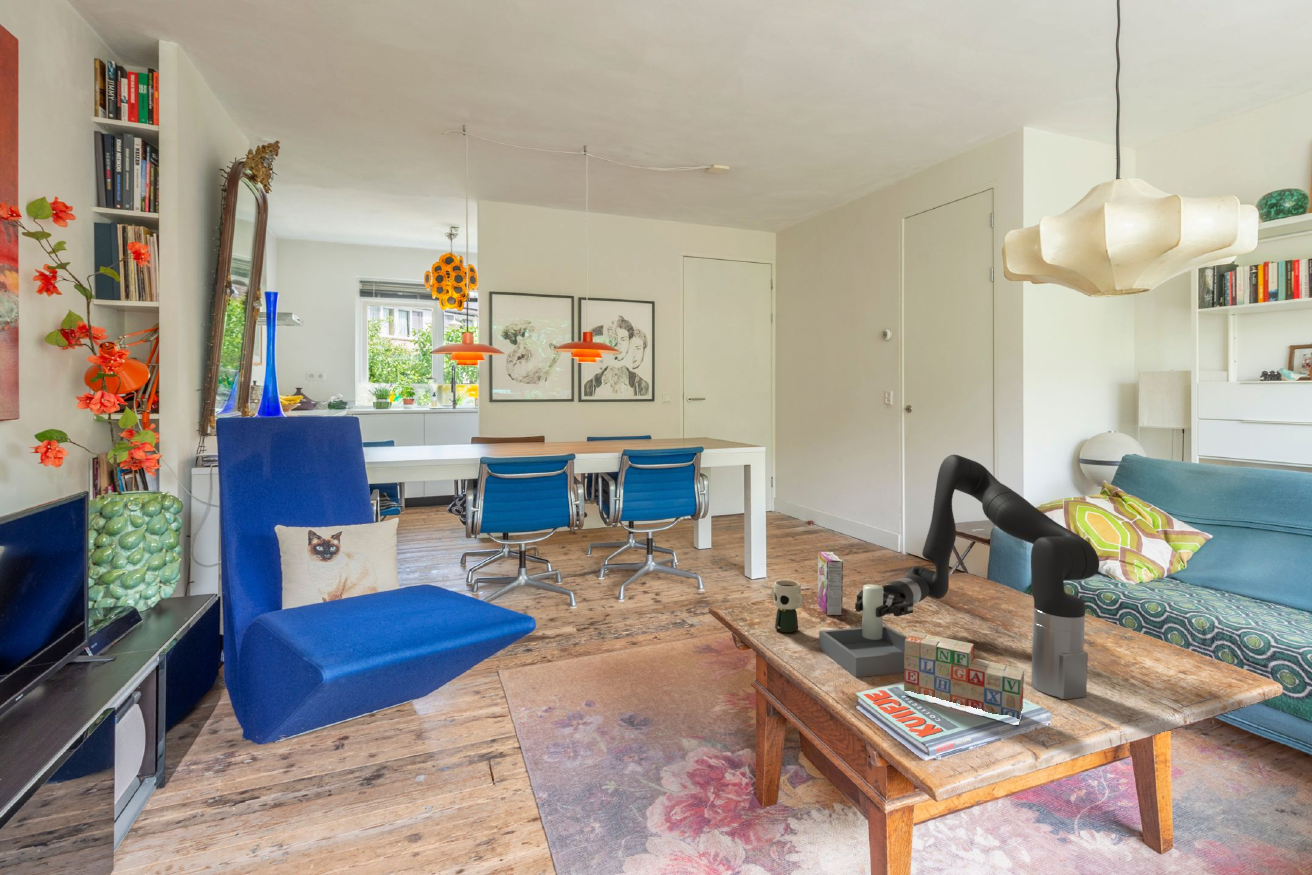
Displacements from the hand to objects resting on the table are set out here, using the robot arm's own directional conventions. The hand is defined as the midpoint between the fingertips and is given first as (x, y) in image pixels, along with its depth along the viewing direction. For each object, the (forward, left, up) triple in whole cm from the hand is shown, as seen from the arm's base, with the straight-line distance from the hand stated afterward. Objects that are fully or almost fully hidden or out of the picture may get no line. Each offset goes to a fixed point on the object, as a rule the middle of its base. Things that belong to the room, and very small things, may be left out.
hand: (867, 610), depth 147 cm
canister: (+1, -2, -7) cm, 7 cm away
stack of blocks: (-23, -7, -13) cm, 28 cm away
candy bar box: (+36, -10, -13) cm, 40 cm away
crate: (+1, -2, -12) cm, 13 cm away
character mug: (+23, +10, -13) cm, 28 cm away
